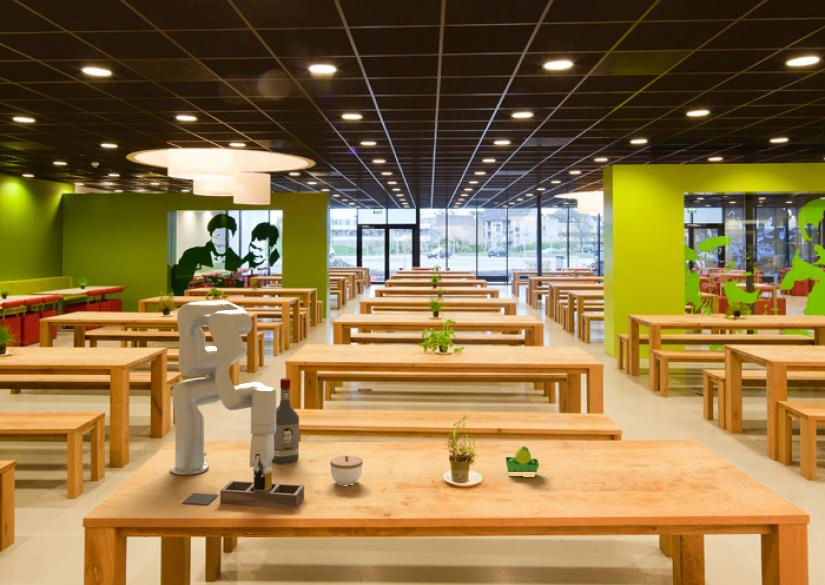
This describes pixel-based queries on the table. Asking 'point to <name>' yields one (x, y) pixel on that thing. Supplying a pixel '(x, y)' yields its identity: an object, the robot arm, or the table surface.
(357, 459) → the lidded jar
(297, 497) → the rack
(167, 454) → the table surface
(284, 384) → the liquor
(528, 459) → the fruit basket
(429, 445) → the table surface
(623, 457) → the table surface
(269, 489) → the supplement bottle
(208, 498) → the mat
